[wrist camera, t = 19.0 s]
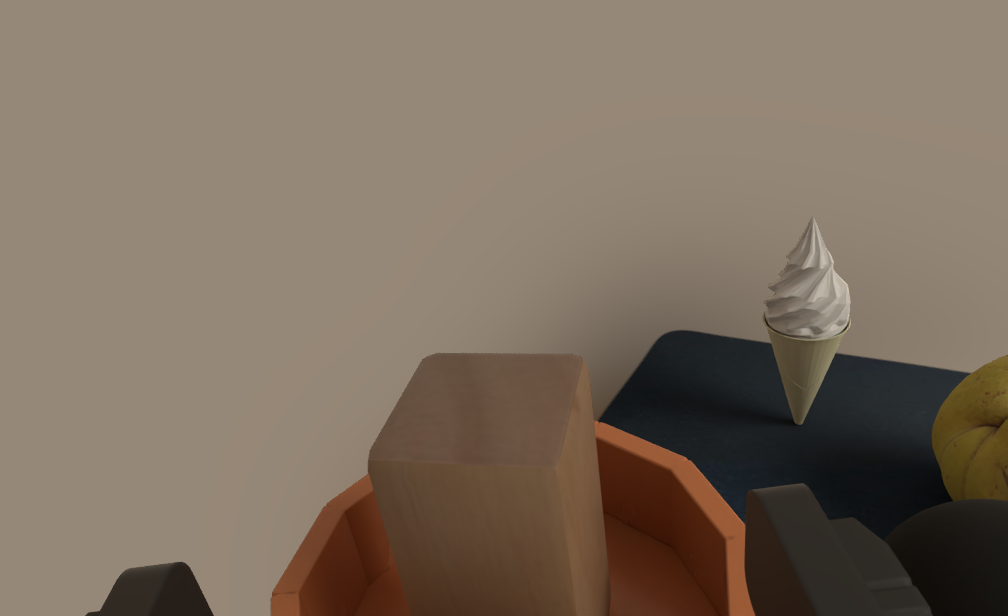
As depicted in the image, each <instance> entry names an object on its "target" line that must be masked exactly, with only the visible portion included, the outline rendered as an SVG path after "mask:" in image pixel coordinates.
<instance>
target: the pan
mask: <svg viewBox="0 0 1008 616" xmlns="http://www.w3.org/2000/svg"><path fill="white" fill-rule="evenodd" d="M594 425H595V436H596V446H597V456H598V466H599V477H600V487H601V497H602V508H603V518H604V528H605V538H606V549H607V559H608V569H609V579H610V590H611V599H610V607H609V616H755V613H754V611H753V608H752V605H751V601H750V598H749V594H748V589H747V584H746V578H745V569H744V558H745V524H744V523H743V522H742V521H741V519H740V518H739V517H738V516H737V515H736V514H735V512H734V511H733V510H732V509H731V508H730V506H729V505H728V504H727V503H726V502H725V501H724V499H723V498H722V497H721V496H720V495H719V493H718V492H717V491H716V490H715V489H714V488H713V486H712V485H711V484H710V483H709V482H708V480H707V479H706V478H705V477H704V476H703V474H702V473H701V472H700V471H699V470H698V469H697V467H696V466H695V465H694V464H693V463H692V461H690V460H687V458H686V457H683V456H681V455H678V454H676V453H674V452H671V451H669V450H667V449H664V448H662V447H659V446H657V445H655V444H652V443H650V442H648V441H645V440H643V439H640V438H638V437H636V436H633V435H631V434H629V433H626V432H624V431H621V430H619V429H617V428H614V427H612V426H610V425H607V424H605V423H603V422H600V423H598V421H594ZM326 505H327V506H325V507H324V508H323V509H322V511H321V513H320V514H319V516H318V517H317V519H316V521H315V522H314V524H313V526H312V527H311V529H310V531H309V532H308V534H307V536H306V537H305V539H304V541H303V542H302V544H301V546H300V547H299V549H298V550H297V552H296V554H295V556H294V557H293V559H292V560H291V562H290V564H289V565H288V567H287V569H286V570H285V572H284V574H283V575H282V577H281V579H280V580H279V582H278V584H277V585H276V587H275V589H274V590H273V592H272V597H271V616H411V615H410V612H409V608H408V605H407V602H406V598H405V595H404V591H403V588H402V585H401V581H400V578H399V575H398V571H397V568H396V564H395V561H394V558H393V554H392V551H391V548H390V544H389V541H388V537H387V534H386V531H385V527H384V524H383V521H382V517H381V514H380V510H379V507H378V504H377V500H376V497H375V493H374V490H373V487H372V483H371V480H370V477H369V474H367V475H366V476H364V477H363V478H362V479H360V480H359V481H358V482H356V483H355V484H353V485H352V486H351V487H349V488H348V489H346V490H345V491H344V492H342V493H341V494H339V495H338V496H337V497H335V498H334V499H332V500H331V501H330V502H328V503H327V504H326Z"/></svg>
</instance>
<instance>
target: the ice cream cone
mask: <svg viewBox="0 0 1008 616" xmlns="http://www.w3.org/2000/svg"><path fill="white" fill-rule="evenodd" d="M786 257H787V258H788V259H789V262H788V263H787V265H786V267H785V268H784V270H783V271H781V272H780V273H779V274H778V275H780V276H781V277H782V278H780V279H779V280H777V281H775V282H773V283H771V284H769V285H768V288H770V289H771V290H773V291H774V292H775V294H774V295H773V296H771V297H767V298H766V299H765V301H764V303H765V304H766V306H767V307H768V308H767V309H766V310H765V312H764V314H763V322H764V324H765V326H766V327H767V329H768V333H769V336H770V339H771V343H772V346H773V350H774V354H775V357H776V361H777V364H778V368H779V371H780V375H781V378H782V381H783V385H784V388H785V392H786V395H787V398H788V402H789V405H790V409H791V412H792V415H793V419H794V422H795V424H797V425H801V424H802V423H803V421H804V419H805V417H806V415H807V413H808V410H809V408H810V406H811V404H812V402H813V400H814V398H815V396H816V393H817V391H818V389H819V387H820V385H821V383H822V381H823V379H824V376H825V374H826V372H827V370H828V368H829V366H830V363H831V361H832V359H833V357H834V355H835V352H836V350H837V348H838V346H839V344H840V342H841V340H842V337H843V335H844V333H845V332H846V331H847V330H848V329H849V328H850V325H851V319H850V317H849V311H850V303H851V301H850V296H849V290H848V285H847V284H846V283H845V282H844V281H843V280H842V279H841V278H840V277H839V276H838V275H837V274H836V272H834V270H833V264H834V261H833V259H832V255H831V254H830V253H829V251H828V250H827V248H826V246H825V244H824V241H823V239H822V236H821V234H820V231H819V229H818V227H817V224H816V222H815V218H814V216H813V215H812V217H811V219H810V221H809V223H808V225H807V227H806V229H805V230H804V232H803V234H802V236H801V238H800V239H799V241H798V243H797V244H796V246H795V247H794V248H793V249H792V250H791V251H790V253H788V255H786Z"/></svg>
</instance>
